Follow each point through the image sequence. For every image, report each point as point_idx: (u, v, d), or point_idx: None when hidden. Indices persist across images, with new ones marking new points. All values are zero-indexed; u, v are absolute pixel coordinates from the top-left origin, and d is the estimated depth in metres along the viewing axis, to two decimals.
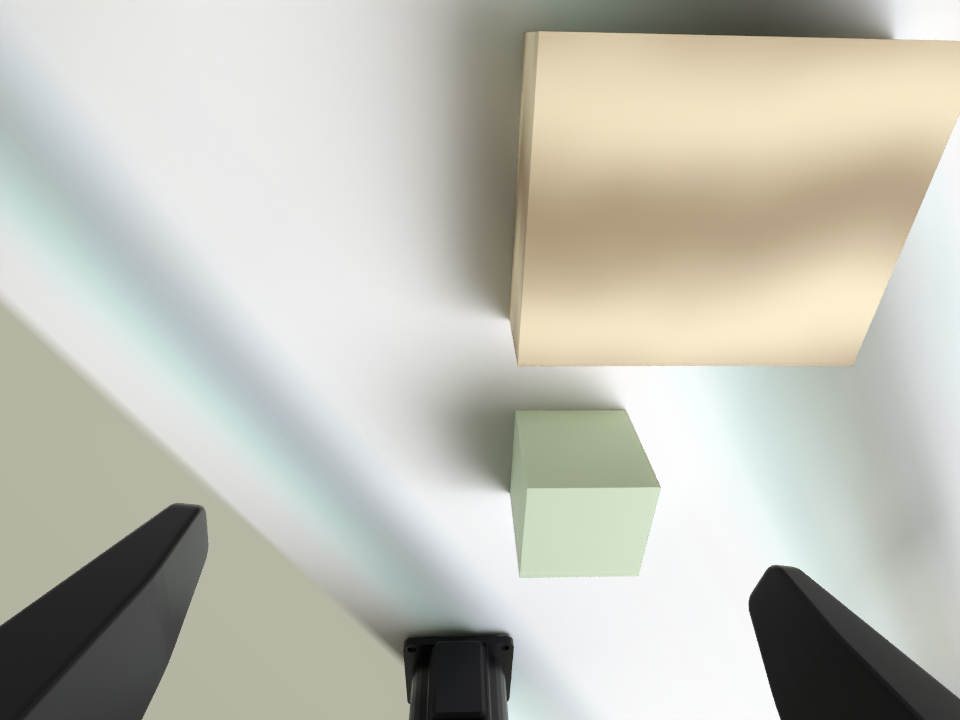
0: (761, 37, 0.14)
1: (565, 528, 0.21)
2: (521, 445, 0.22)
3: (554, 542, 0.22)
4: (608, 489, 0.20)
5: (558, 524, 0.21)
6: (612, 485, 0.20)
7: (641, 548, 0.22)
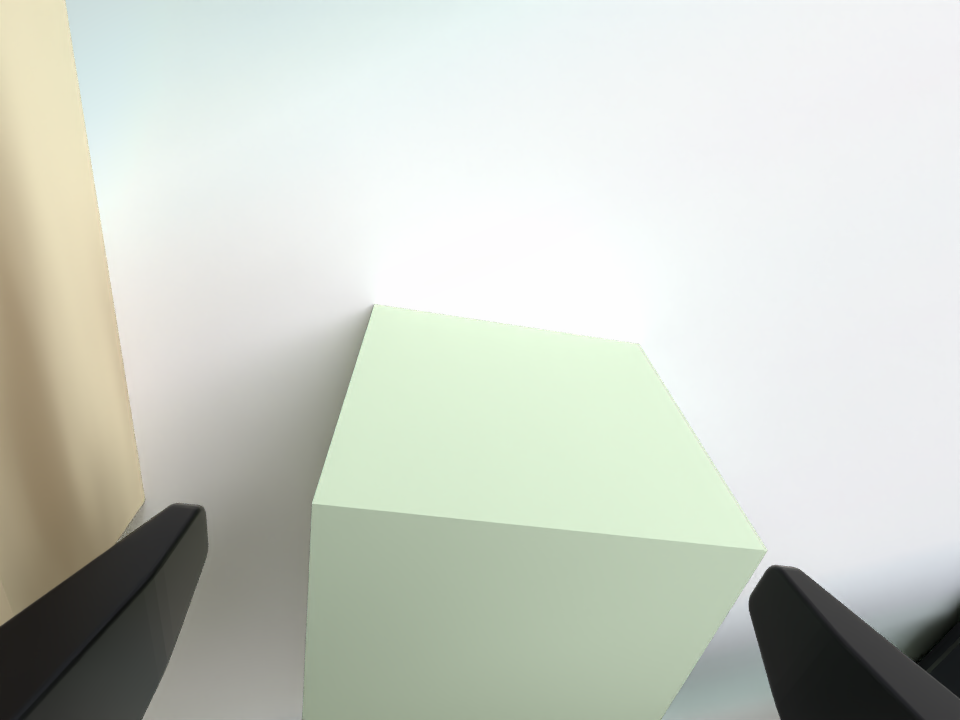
0: None
1: (464, 703, 0.07)
2: None
3: None
4: (313, 625, 0.06)
5: (445, 713, 0.07)
6: (309, 607, 0.06)
7: (617, 547, 0.06)
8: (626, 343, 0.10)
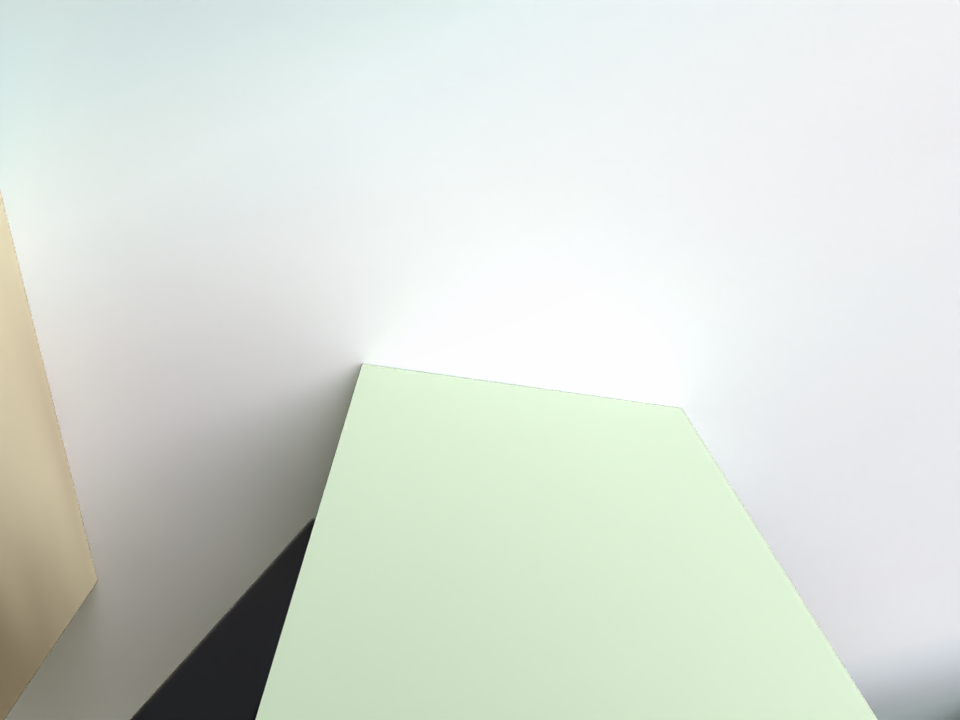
0: None
1: None
2: None
3: None
4: None
5: None
6: None
7: None
8: (668, 411, 0.08)
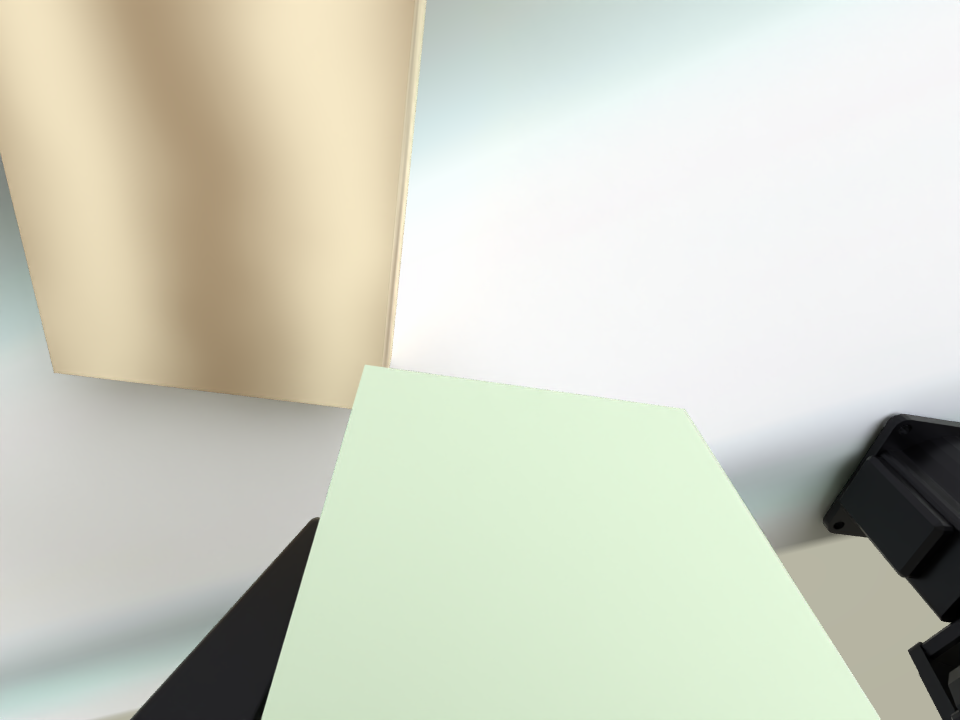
0: None
1: None
2: None
3: None
4: None
5: None
6: None
7: None
8: (670, 412, 0.08)
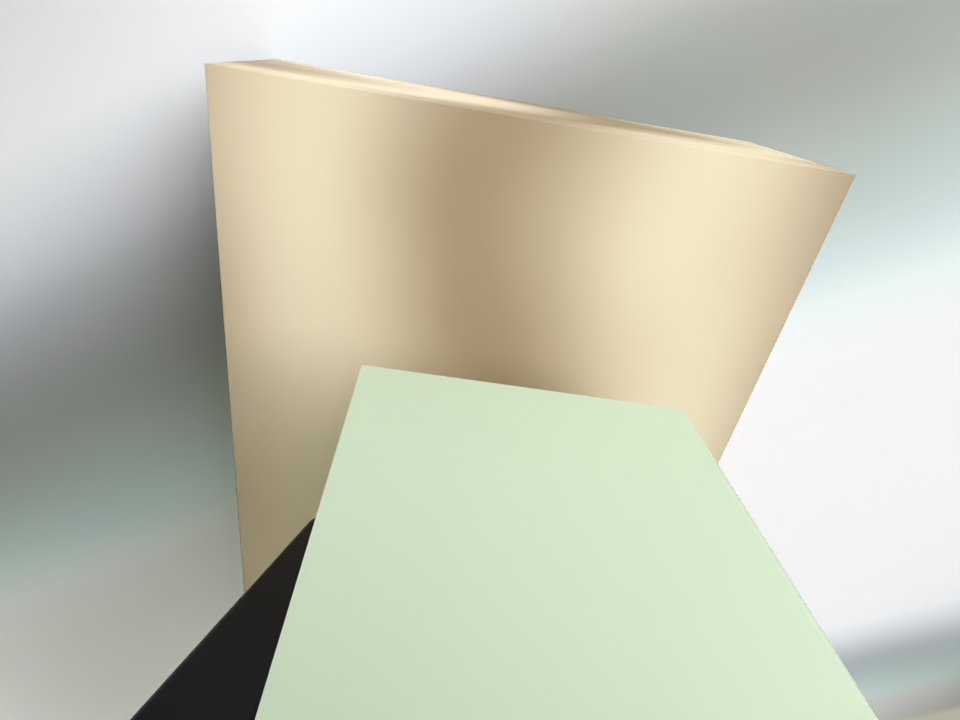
0: (232, 422, 0.11)
1: None
2: None
3: None
4: None
5: None
6: None
7: None
8: (669, 412, 0.08)
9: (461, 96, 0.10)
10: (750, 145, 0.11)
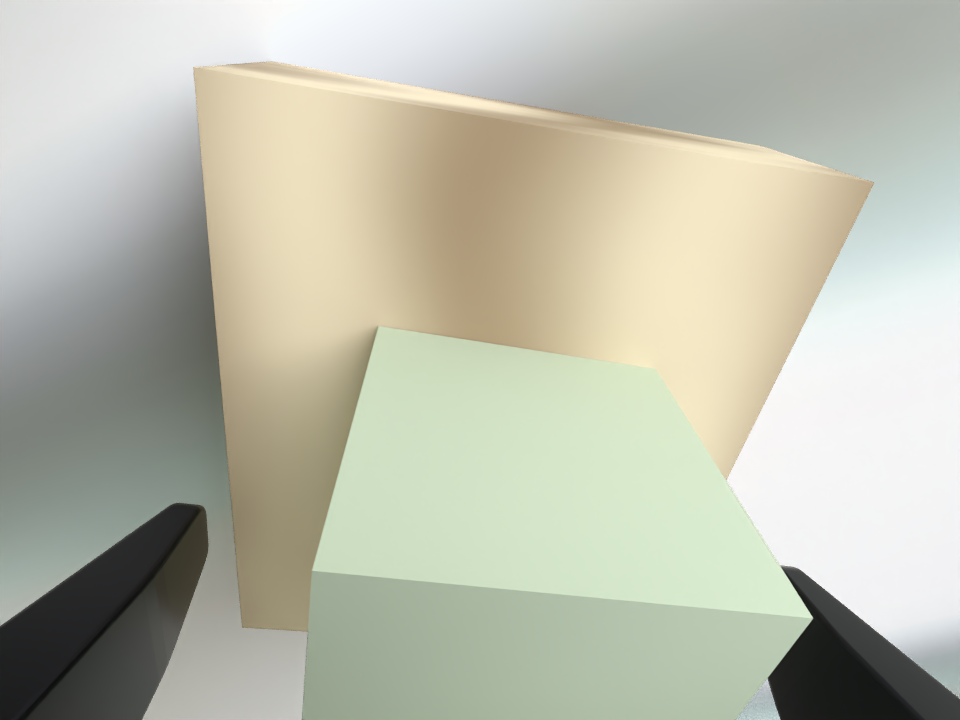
0: (226, 436, 0.10)
1: None
2: None
3: None
4: (310, 694, 0.06)
5: None
6: (306, 674, 0.06)
7: (649, 614, 0.05)
8: (643, 370, 0.10)
9: (462, 100, 0.10)
10: (762, 150, 0.11)
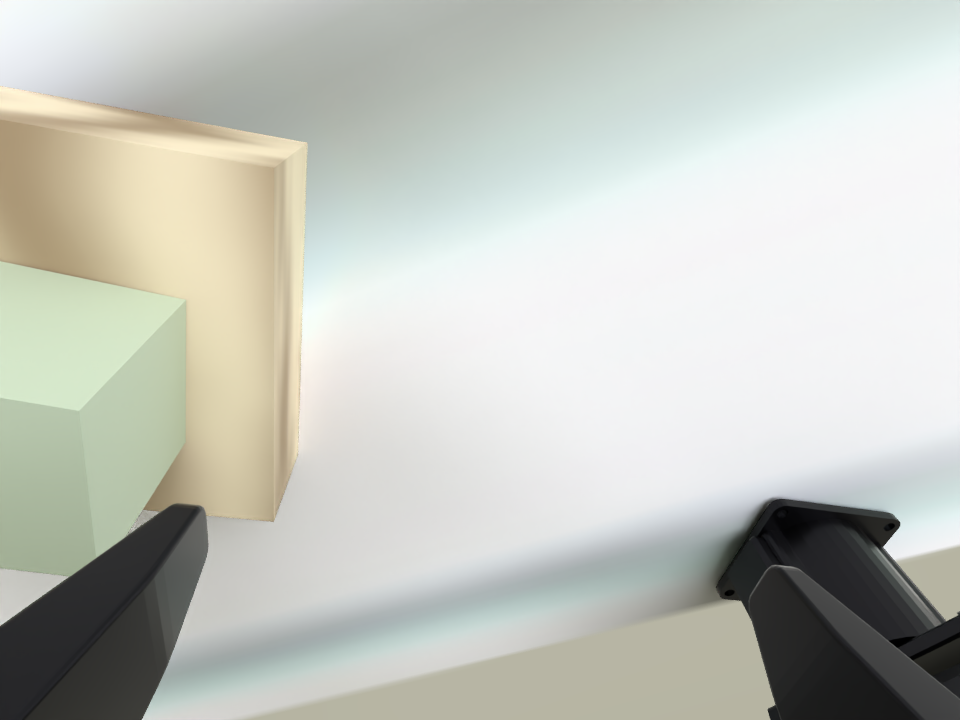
0: None
1: None
2: None
3: None
4: None
5: None
6: None
7: None
8: (172, 299, 0.14)
9: (43, 104, 0.14)
10: (282, 145, 0.15)
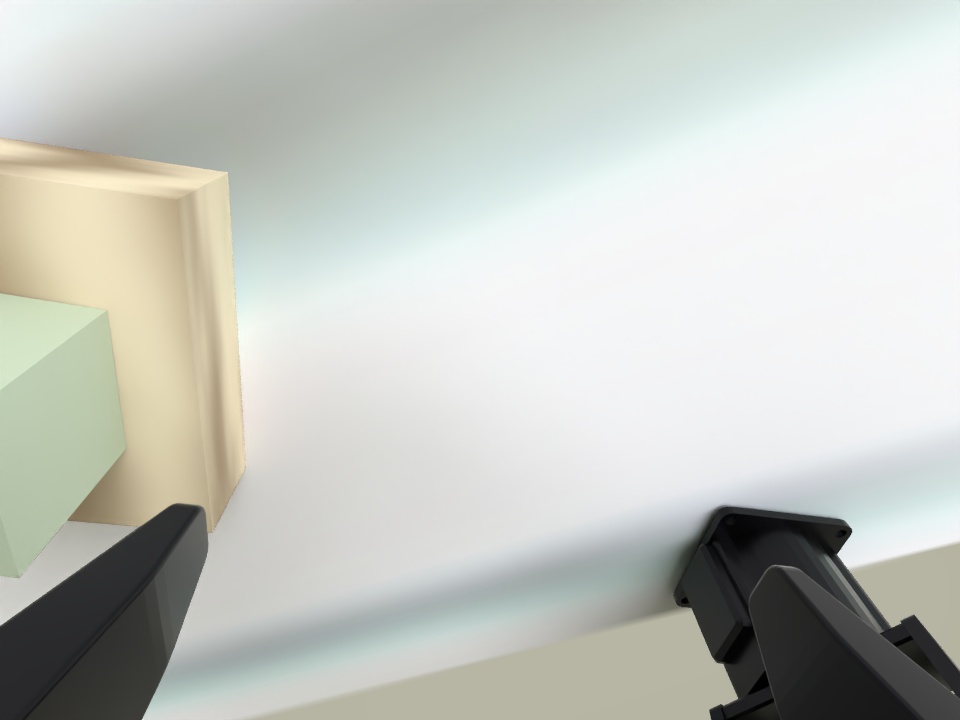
0: None
1: None
2: None
3: None
4: None
5: None
6: None
7: None
8: (92, 310, 0.15)
9: None
10: (200, 176, 0.16)
